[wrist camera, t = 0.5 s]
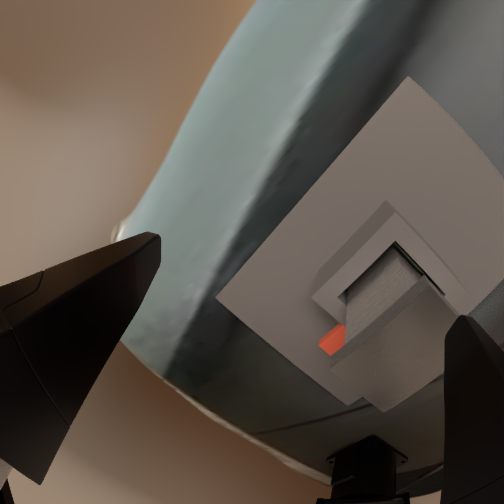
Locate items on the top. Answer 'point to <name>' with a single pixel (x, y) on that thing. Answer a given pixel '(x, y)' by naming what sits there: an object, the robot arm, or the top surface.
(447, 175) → the jack stand base
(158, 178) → the top surface
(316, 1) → the top surface
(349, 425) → the top surface
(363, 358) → the grey-brown stepped block
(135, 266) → the robot arm
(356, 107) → the top surface
